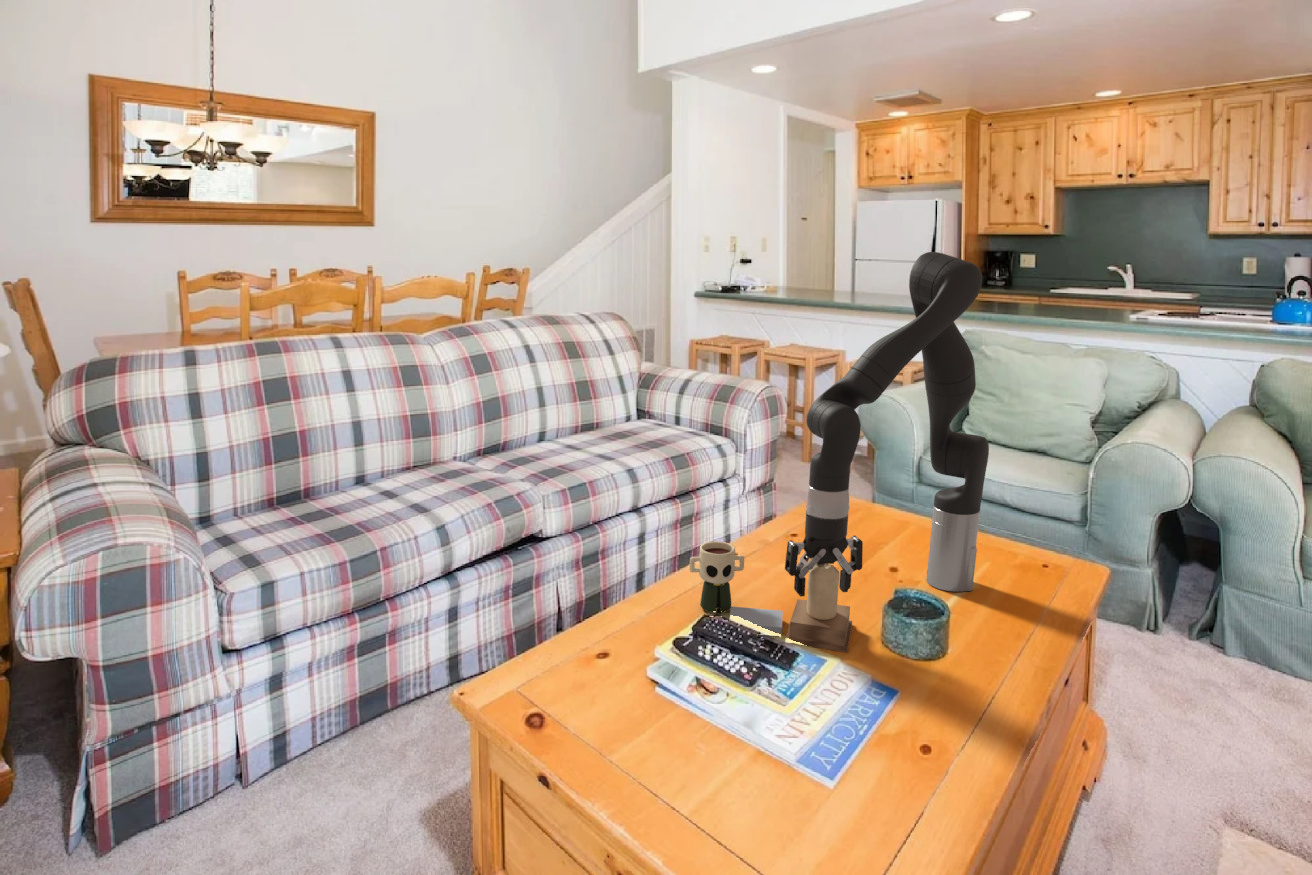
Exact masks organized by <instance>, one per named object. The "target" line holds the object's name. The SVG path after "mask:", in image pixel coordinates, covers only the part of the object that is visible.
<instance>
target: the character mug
mask: <svg viewBox="0 0 1312 875" xmlns="http://www.w3.org/2000/svg"><path fill="white" fill-rule="evenodd" d="M736 561H739V562H738V563H739V564H738V566H736ZM695 562H699V566H698V567H695V565H696V564H695ZM744 569H745V556H744V555H742V554H740V555H739V554H738V555H736V547H735V546H734V545H733V544H731V543H728V542H724V541H707V542H703V543H702V544H701V545H700V546H699V556H691V557H690V559H689V572H690V573H698V574H699V577H700V578H701V580H702V581H703V586H702V591H701V597H700V607H701V608H702V610H704V611H706V612H709V613H713V611H716V612H717V609H720V612H721V611H722V612H721V613H725V612H728V611H730V610H731V606H732V595H731V593H732V592H731V586H730V582H731V581H732V580H733V579H734V577H735V574H736V573H735V572H741V571H744Z"/></svg>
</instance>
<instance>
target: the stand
mask: <svg viewBox="0 0 1312 875" xmlns="http://www.w3.org/2000/svg"><path fill="white" fill-rule="evenodd" d="M850 611H851V606H849V605H842V604H837V612H836V616H835V618H833V619H829V620H820V619H815V618H812V617H810V616H809V615H808V614H807V599H805V600H804V599H799V598H797V600H796V603H795V606H794V609H793V611H792V615H791V617H790V621H789V627H788V630H787V633H786V636H785V638H786V637H787V638H789V639H791V640H793V641H796V642H800V643H802V644H804V645H807V646H806V647H810V646H812V647H811V648H817V649H824V650H829V651H836V652H843V653H848V651H849V650H848V649H849V645H850V640H851V635H852V634H851V633H852V627H853V621H852V620H850V615H851V612H850Z"/></svg>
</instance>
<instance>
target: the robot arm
mask: <svg viewBox="0 0 1312 875" xmlns="http://www.w3.org/2000/svg"><path fill="white" fill-rule="evenodd" d="M908 281H909V282H908V285H909V286H908V288H909V295H910V300H911V303H912V308H913V312H914V316H915V318H914V319H912V320H911V321H910V322H908V323H906V324H905V325H903V326H901V327H900V328H898V329H895V330H894V331H891V333H890V332H889V334H887V335H885V336H882V337H881V338H879V339H878V340H876V341H875V342H873V343H872V344H871V345H869V347H868V348H867V349H866V350H865V351H864V352H862V354H861V355H860V357H859V358H858V359H857V360H856V361H855V363H854V364H853V365H852V367H850V369H849V370H848V371H847V373H846V374H845V375H844V376H843V377H842V378H840V379H839V380H837V381H836V382H834V383H833V384H832V385H831V386H830V387H829V388H827V389H826V390H824V391H823V393H821V394H820V395H819V396H818V397H817V398H816V399H815V400H814V401H813V402H812V404H811V405H810V408H809V410H808V412H807V415H806V426H807V428H808V429H809V431H810V432H811V433H812V434H813V435H815V436H816V437H818V438H821V439H822V445H821V450H820V452H818V453H816V454H814V455H812V457H811V459H810V466H809V477H808V478H809V479H808V480H809V481H808V484H809V485H808V490H807V494H806V509H805V521H804V522H805V523H804V526H805V527H804V539H803V541H802V542H801V541H800V542H797V541H796V542H795V541H794V540H789V541H787V545H786V554H785V565H784V570H785V571H786V572H787V573H788V574H789V575H790V577H794V580H793V581H794V584H793V589H794V591H795V592H796V594H797V595H798V596H799V597H805V594H806V580H807V578H806V577H805V576H806V575H807V574H809V570H811V569H813V567H814V566H815V565H816V564H818V565H822V564H825V563H828V564H830V565H835V562H837V564H838V565H839V567H840V568H841V570H840V571H839V586H838V589H839V590H840V591H841V592H842V593H848V590H850V589H851V586H852V574H853V572H854V571H860V570H862V569H863V544H864V543H863V541H862V539H860V538H859V537H858V536H857V535H854V534H853V535H852V536H851V537H850V538H847V535H848V528H849V527H848V525H849V524H848V523H849V511H850V489H849V488H850V478H851V477H850V475H851V464H852V462H853V460H854V456H855V454H856V450H857V447H858V445H859V444H858V443H859V441H860V437H861V429H862V427H861V425H862V424H861V419H860V417H859V414H858V413H857V411H856V409H857V408H859V407H860V406H862V405H869V404H870V405H871V404H873V403H874V402H876V401H878V399H879V398H880V397H881V396H882V395H883V393H884V392H886V390H887V388H888V387H889V386H890V385H891V383H893V382H894V380H895V379H896V377H897V376H898V375H899V374H900V372H901V371H902V370H903V369H904V368H905V366H907V365H909V364H908V363H910V362H911V361H912V360H913V359H914V358H915V357H916V356H917V355H919V353H920V352H921V354H922V355H921V356H922V363H923V364H922V366H923V367H922V368H923V376H924V379H923V380H924V384H925V392H926V398H927V399H926V400H927V405H928V413H929V414H928V415H929V416H928V417H929V441H930V442H929V444H930V445H929V451H930V452H929V453H930V462H931V467H932V470H933V471H934V472H935V473H938V474H940V475H943V476H948V477H955V478H960V479H964V483H963V484H962V485H959V486H956V487H950V488H945V489H941V490H938V491H937V492H936V493H935V494H934V499H933V510H932V518H931V521H932V522H931V528H930V529H931V530H930V540H929V550H928V560H927V569H926V578H925V580H926V582H927V583H928V584H929V585H930V586H932V587H934V588H935V589H938V590H940V591H947V592H952V593H953V592H955V593H956V592H959V593H960V592H965V591H966V592H972V591H973V586H974V578H975V569H976V562H977V561H976V560H977V552H978V548H977V540H978V532H979V523H980V514H981V505H982V500H983V498H982V497H983V493H984V492H983V491H984V484H985V478H986V472H987V467H988V461H989V454H990V453H989V452H990V451H989V450H990V446H989V440H988V439H987V438H986V437H984V436H982V435H977V434H970V433H963V432H956V431H952V430H951V426H950V425H951V423H952V422H953V420H954V418H955V417H956V416H957V415H958V414H959V413H960V412H961V411H962V409H963V408H964V407H966V405H967V404H968V403H969V401H970V400H971V398H973V397H972V396H973V395H974V394H975V393H974V392H975V391H976V385H977V384H976V368H975V366H976V365H975V361H974V359H975V358H974V355H973V354H972V351H971V349H970V347H969V345H968V343H967V341H966V339H965V338H964V337H963V335H962V333H961V331H960V330H959V328H958V326H957V325H956V323H955V321H956V320H957V319H959V318H960V317H961V316H962V315H963V314H964V313H965V312H966V311H967V310H968V309H969V308H970V307H971V305H973V303H974V302H975V300H976V299H977V298H978V296H979V294H980V292H981V289H982V285H983V274H982V270H981V269H980V268H979V266H978V265H976V264H975V263H972V262H970V261H967V260H965V259H961V258H959V257H956V256H952V255H949V254H947V253H944V252H937V251H928V252H924V253H922V254H921V255H919V256H918V258H917V259H916V260H915V261H914V263H913V265H912V267H911V270H910V273H909V280H908ZM847 548H849V550H850V560H849V561H848V560H847V559H846V557H845V556H844V555H843V553H844V552H845V551H846V549H847ZM802 550H804V553H803V555H801V552H802ZM799 555H801V557H800V559H799V562H798V558H799Z"/></svg>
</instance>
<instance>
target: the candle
mask: <svg viewBox="0 0 1312 875" xmlns="http://www.w3.org/2000/svg"><path fill="white" fill-rule="evenodd" d="M839 584H840V571H839V570H838V568H836V566H834V564H828V563H825V564H822V565H818V564H816V565H815V566H814V567H813V569H811V570H809V571H808V582H807V598H806V600H807V614H808V615H809V616H810V617H812V618H815V619H820V620H829V619H833V618H835V616H836V612H837V605H838V598H839Z"/></svg>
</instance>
